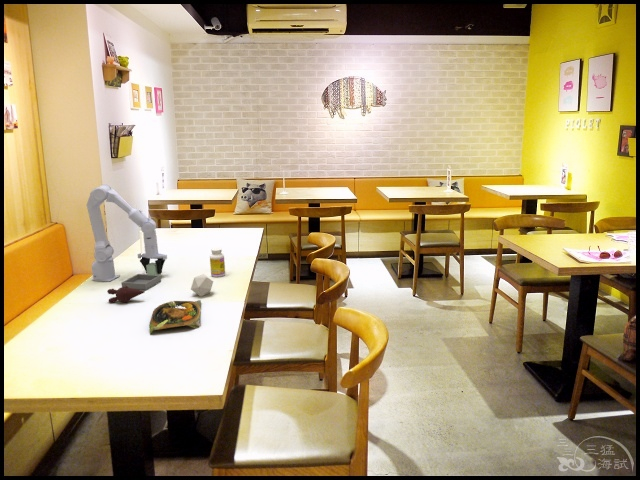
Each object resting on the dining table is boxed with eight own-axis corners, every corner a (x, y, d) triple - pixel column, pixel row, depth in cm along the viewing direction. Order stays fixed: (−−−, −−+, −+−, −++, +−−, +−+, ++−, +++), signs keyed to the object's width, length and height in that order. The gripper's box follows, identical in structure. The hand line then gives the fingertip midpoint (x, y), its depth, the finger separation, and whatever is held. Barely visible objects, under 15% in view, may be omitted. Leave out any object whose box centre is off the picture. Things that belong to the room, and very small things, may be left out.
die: (204, 290, 216) (189, 275, 211) (219, 282, 213) (204, 266, 208) (199, 303, 209) (183, 288, 204) (215, 295, 206) (199, 279, 201)
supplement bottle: (222, 277, 230) (220, 251, 227) (208, 277, 231) (206, 250, 228) (227, 273, 237) (225, 247, 233) (214, 272, 238) (212, 247, 235)
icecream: (146, 282, 206) (110, 287, 205) (140, 284, 199) (103, 288, 198) (148, 299, 206) (112, 303, 205) (142, 301, 199) (105, 305, 198)
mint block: (147, 277, 233) (146, 265, 232) (152, 274, 238) (151, 262, 236) (155, 277, 232) (154, 265, 231) (161, 274, 236) (159, 263, 235)
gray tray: (122, 288, 218) (121, 282, 217) (138, 280, 229) (137, 274, 229) (145, 290, 215) (145, 284, 214) (161, 281, 226) (160, 275, 226)
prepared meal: (154, 298, 196) (200, 293, 200) (155, 306, 197) (201, 301, 201) (146, 329, 170) (200, 322, 174) (148, 338, 171) (201, 331, 175)
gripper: (169, 244, 233) (172, 271, 237) (142, 242, 237) (145, 269, 240) (161, 248, 227) (164, 276, 230) (133, 246, 230) (137, 274, 234)
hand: (154, 273), depth 235 cm, fingers open, 6 cm apart
